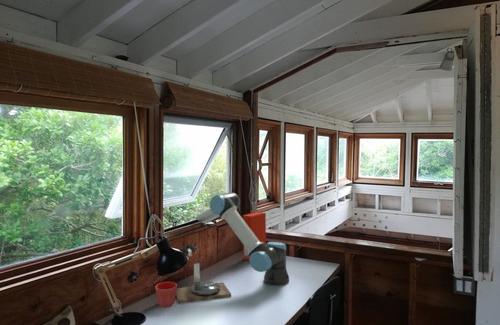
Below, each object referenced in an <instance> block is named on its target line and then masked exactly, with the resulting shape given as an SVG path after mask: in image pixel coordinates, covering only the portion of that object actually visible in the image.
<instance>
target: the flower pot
mask: <svg viewBox="0 0 500 325" xmlns="http://www.w3.org/2000/svg"><path fill="white" fill-rule="evenodd" d="M177 288H178V284H177V283H176V282H174V281H163V282H159V283H158V284H156V285H155V295H156V298H157V302H158V306H159V307H161V308H162V307H163V308H167V307H171V306H173V305H174V304H175V300H176V289H177Z"/></svg>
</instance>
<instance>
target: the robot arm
mask: <svg viewBox="0 0 500 325" xmlns="http://www.w3.org/2000/svg"><path fill="white" fill-rule="evenodd" d="M240 205H241V200H240V197H239V195H238V194H237V193H235V192H226V193H217V194H215V195H213V196H212V197H211V199H210V201H209V209H207V210H205V211H203V212H201V213H200V214H198V215H196V216H197V217H196V216H195V217H196V219H197V220H198V221H201V222H202V223H206V224H208V223H210V222H211V221H213V220H215V219H216V218H219V217H220V219H221V220H225V222H226V223H227V224H228V225H229V227H230V228H231V229H232V231H233V232H234V234H235V235H236V237H237V238H238V239H239V241H240V242H241V244H242V245H243V244H244V246H245V247H246V248H247V250H248V256H249V257H250V258H249V260H250V261H249V264H250V267H251V268H252V269H253V270H254V271H256V272H259V273H263V272H265V273H264V276H263V282H264V283H265V284H267V285H272V286H283V285H287V284H288V283H289V282H290V277H289V276H290V275H289V272H288V270H287V246H286V244H285V243H283V242H276V241H268V242H266V245H265V243H264V242H260V241H259V240H258V238H257V237H256V236H255V234H254V233H253V232H252V231H251V229H250V228H249V227H248V225H247V224H246V223H245V221H244V220H243V219H242V216H241V215H240V214H239V212H238V211H237V210H238V209H239V208H240ZM196 249H197V243H196V244H192V243H191V245H190V244H189V245H188V246H187V247H186V246H185V247H184V249H183V248H180V251H182V252H183V253H182V254H185V255H187V256H189V257H193V255H192V254H193V253H195V252H196ZM180 251H179V252H180Z"/></svg>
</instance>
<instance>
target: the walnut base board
mask: <svg viewBox="0 0 500 325" xmlns="http://www.w3.org/2000/svg"><path fill="white" fill-rule="evenodd" d="M219 284H220V292H218V293H217V294H214V295H209V296H199V295H195V294H193V293H192V292H191V287H192V285H191V286H183V287H177V289H176V295H175V297H176V299H177V302H178V304H179V305H180V304H186V303H194V302H201V301H202V302H204V301H209V300H216V299H224V298H231V297H232V293H231V292H230V290H229V288H228V287H227V286H226V284H225V283H224V282H219Z"/></svg>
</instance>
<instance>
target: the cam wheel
mask: <svg viewBox="0 0 500 325" xmlns="http://www.w3.org/2000/svg"><path fill="white" fill-rule="evenodd" d="M200 266H201V264H200V263H199V262H196V263H193V277H194V279H193V281H194V282H193V284H192V285H191V286H192V287H191V286H190V287H191V292H192V293H193V294H195V295H199V296H209V295H214V294H217V293H218V292H220V284H219V283H222V281H221V280H217V281H211V280H209V281H208V280H207V281H206V280H205V281H200V280H201V272H200V271H201V267H200Z"/></svg>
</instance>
